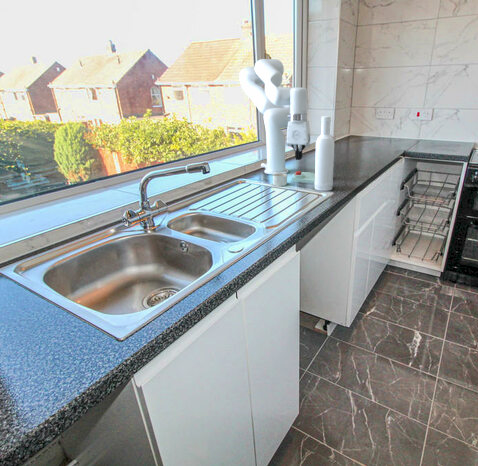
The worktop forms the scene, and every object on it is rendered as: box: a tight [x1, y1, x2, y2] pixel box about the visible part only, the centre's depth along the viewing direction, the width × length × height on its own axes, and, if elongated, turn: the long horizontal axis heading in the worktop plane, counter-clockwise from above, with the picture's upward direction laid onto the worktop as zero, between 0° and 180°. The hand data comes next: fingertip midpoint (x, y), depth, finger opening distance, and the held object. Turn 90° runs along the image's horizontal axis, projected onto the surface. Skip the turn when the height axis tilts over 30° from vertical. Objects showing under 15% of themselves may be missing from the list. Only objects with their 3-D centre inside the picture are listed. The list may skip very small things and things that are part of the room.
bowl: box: [272, 173, 288, 187], centre depth 150 cm, size 6×7×5 cm
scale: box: [291, 171, 315, 185], centre depth 158 cm, size 17×14×3 cm
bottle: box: [314, 115, 336, 192], centre depth 138 cm, size 8×8×30 cm
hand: (298, 159), depth 153 cm, fingers closed
